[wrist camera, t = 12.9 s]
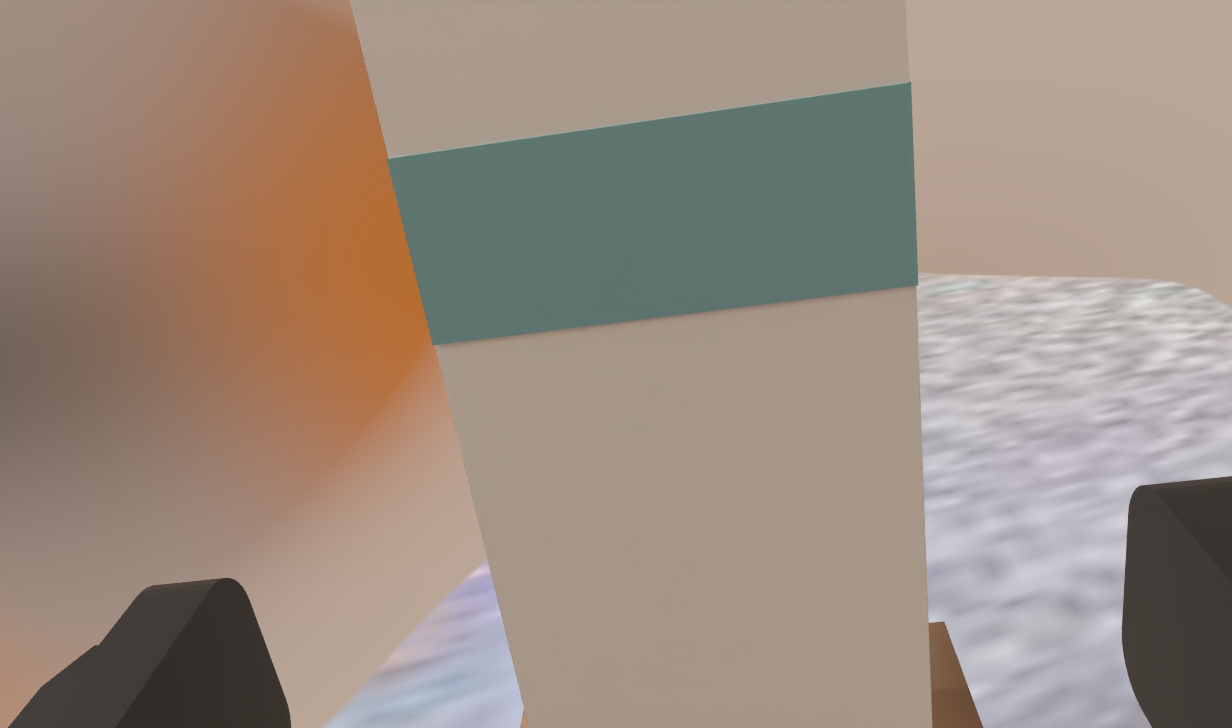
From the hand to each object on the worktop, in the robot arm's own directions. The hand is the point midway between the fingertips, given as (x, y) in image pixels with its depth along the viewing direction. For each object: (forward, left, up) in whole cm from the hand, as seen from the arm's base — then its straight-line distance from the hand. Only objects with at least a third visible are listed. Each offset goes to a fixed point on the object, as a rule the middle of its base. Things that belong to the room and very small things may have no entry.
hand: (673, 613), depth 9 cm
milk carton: (0, +7, -10) cm, 13 cm away
